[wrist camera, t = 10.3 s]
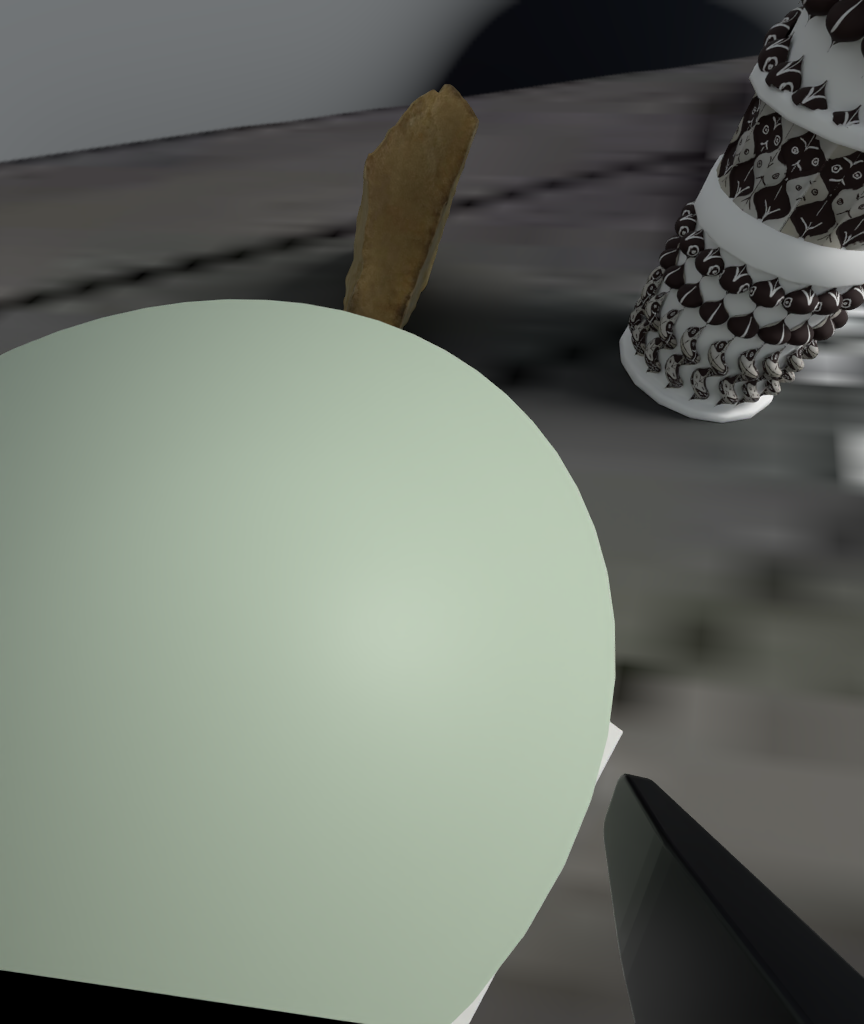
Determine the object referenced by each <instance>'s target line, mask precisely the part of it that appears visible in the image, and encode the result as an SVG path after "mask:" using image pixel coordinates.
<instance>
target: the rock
mask: <svg viewBox="0 0 864 1024" xmlns="http://www.w3.org/2000/svg"><path fill="white" fill-rule="evenodd" d="M478 123H479V120H478V119H477V117H476V115H475V113H474V112H473V110H472V108H471V107H470V106H469V104H468V103H467V101H466V100H464V99H463V98H462V96H461V95H460V93H459V92H458V91H457V90H456V89H455V88H454V87H453V86H451V85H444V86H443V87H442V88H441V90H440V92H439V93H437V92H436V91H435V90H431V91H429V92H428V93H426V94H424V95H423V96H421V97H419V98H418V99H416V100H415V101H414V102H413V103H412V104H411V105H410V107H409V108H408V110H407V111H406V112H405V113H404V114H403V115H402V116H401V118H400V119H399V121H398V122H397V124H396V125H395V126H394V127H392V128H390V129H389V130H388V132H387V133H386V136H385V138H384V140H383V141H382V142H381V143H380V145H379V146H378V147H377V148H376V149H375V151H374V152H373V153H370V154H368V157H367V159H366V162H365V166H364V176H363V179H364V184H363V195H362V201H361V206H360V208H359V212H358V216H357V230H356V236H355V242H354V260H353V262H352V265H351V267H350V269H349V272H348V274H347V276H346V281H345V283H346V295H345V298H344V301H343V304H344V310H343V311H346V312H350V313H353V314H357V315H360V316H364V317H367V318H371V319H374V320H378V321H381V322H383V323H386V324H389V325H391V326H394V327H396V328H399V329H403V327H404V326H405V325H406V324H407V322H408V320H409V318H410V315H411V313H412V312H413V310H414V309H415V307H416V303H417V301H418V299H419V296H420V293H421V292H422V291H423V290H424V288H425V287H426V285H427V283H428V279H429V276H430V272H431V269H432V266H433V263H434V260H435V256H436V253H437V250H438V244H439V242H440V239H441V237H442V234H443V229H444V226H445V223H446V220H447V218H448V216H449V211H450V206H451V203H452V199H453V196H454V194H455V191H456V186H457V184H458V181H459V178H460V175H461V173H462V171H463V169H464V165H465V161H466V158H467V156H468V153H469V150H470V147H471V144H472V141H473V139H474V137H475V134H476V131H477V128H478Z"/></svg>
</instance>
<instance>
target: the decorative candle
mask: <svg viewBox="0 0 864 1024" xmlns="http://www.w3.org/2000/svg"><path fill="white" fill-rule="evenodd" d="M801 1H802V4H803V6H802V7H799V8H796V9H794V10H792V11H791V12H789V13H788V14H787V15H786V16H785V18H784V19H783V21H781V22H779V23H777V24H775V25H774V26H772V27H771V28H770V29H769V31H768V32H767V34H766V36H765V39H764V43H763V44H764V47H763V49H762V50H761V52H760V54H759V57H758V63H757V64H756V66H755V67H754V69H753V71H752V73H751V75H750V77H749V79H750V81H751V83H752V85H753V87H754V89H755V91H756V93H755V95H754V97H753V99H752V101H751V103H750V105H749V107H748V109H747V111H746V112H745V114H744V116H743V118H742V120H741V122H740V124H739V126H738V128H737V130H736V132H735V134H734V136H733V138H732V140H731V142H730V144H729V146H728V148H727V150H726V152H725V153H724V154H723V155H720V156H719V158H718V160H717V161H716V163H715V165H714V166H713V168H712V170H711V172H710V174H709V176H708V178H707V180H706V182H705V184H704V186H703V188H702V190H701V192H700V194H699V195H698V197H697V199H696V201H691V202H689V203H687V204H686V205H685V206H684V208H683V210H682V212H681V217H680V218H679V219H678V220H677V222H676V224H675V230H676V233H677V234H678V235H675V236H673V237H671V238H670V239H669V240H668V241H667V243H666V250H665V251H663V252H662V253H661V255H660V257H659V262H660V265H661V266H659V267H657V268H656V269H655V270H654V271H653V272H652V273H651V274H650V276H649V277H648V280H647V283H646V285H645V286H644V288H643V289H642V293H641V298H640V299H639V300H638V301H637V303H636V305H635V308H634V311H633V312H632V313H631V315H630V317H629V325H628V326H627V328H626V330H625V332H624V333H623V335H622V337H621V339H620V341H619V347H620V358H621V363H622V365H623V366H624V368H625V370H626V371H627V373H628V374H629V376H630V378H631V379H632V381H633V382H634V384H635V385H636V386H637V387H639V388H640V389H641V390H642V391H644V392H645V393H646V394H647V395H648V396H650V397H651V398H652V399H653V400H655V401H656V402H657V403H658V404H660V405H662V406H664V407H667V408H669V409H671V410H673V411H676V412H678V413H680V414H682V415H685V416H687V417H689V418H693V419H700V420H706V421H712V422H719V423H726V422H732V421H738V420H744V419H750V418H751V417H753V416H754V415H755V414H757V413H758V412H759V411H761V410H762V409H763V408H765V407H766V406H767V405H769V403H770V402H771V401H772V399H773V395H778V394H779V393H780V391H781V388H780V385H779V382H786V383H790V382H792V381H793V380H794V379H795V374H794V372H798V371H800V370H802V369H803V367H804V362H803V359H813V358H815V357H816V356H817V355H818V353H819V350H818V346H817V341H818V340H819V341H820V340H826V339H828V338H829V337H831V336H832V335H833V333H834V332H835V329H837V328H841V327H843V326H844V325H845V324H846V322H847V320H848V314H847V311H846V310H852V309H855V308H857V307H859V306H860V305H861V304H862V303H863V302H864V0H801ZM807 343H808V344H807ZM806 344H807V345H806ZM805 345H806V346H805Z"/></svg>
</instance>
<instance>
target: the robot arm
mask: <svg viewBox="0 0 864 1024" xmlns="http://www.w3.org/2000/svg"><path fill="white" fill-rule="evenodd" d="M603 833H604V844H605V851H606V858H607V866H608V873H609V881H610V888H611V895H612V903H613V910H614V918H615V925H616V932H617V939H618V946H619V952H620V958H621V963H622V968H623V973H624V978H625V982H626V987H627V991H628V995H629V1000H630V1004H631V1009H632V1013H633V1017H634V1022H635V1024H864V977H863V976H861V975H860V974H859V973H858V972H857V971H856V970H855V969H854V968H853V967H852V966H851V965H850V964H849V963H847V962H846V961H845V960H844V959H843V958H842V957H841V956H840V955H839V954H838V953H837V952H836V951H835V950H834V949H832V948H831V947H830V946H829V945H828V944H827V943H826V942H825V941H824V940H823V939H822V938H821V937H820V936H819V935H817V934H816V933H815V932H814V931H813V930H812V929H811V928H810V927H809V926H808V925H807V924H806V923H805V922H804V921H802V920H801V919H800V918H799V917H798V916H797V915H796V914H795V913H794V912H793V911H792V910H791V909H790V908H789V907H787V906H786V905H785V904H784V903H783V902H782V901H781V900H780V899H779V898H778V897H777V896H776V895H775V894H773V893H772V892H771V891H770V890H769V889H768V888H767V887H766V886H765V885H764V884H763V883H762V882H761V881H760V880H758V879H757V878H756V877H755V876H754V875H753V874H752V873H751V872H750V871H749V870H748V869H747V868H746V867H745V866H743V865H742V864H741V863H740V862H739V861H738V860H737V859H736V858H735V857H734V856H733V855H732V854H731V853H730V852H728V851H727V850H726V849H725V848H724V847H723V846H722V845H721V844H720V843H719V842H718V841H717V840H716V839H715V838H713V837H712V836H711V835H710V834H709V833H708V832H707V831H706V830H705V829H704V828H703V827H702V826H701V825H699V824H698V823H697V822H696V821H695V820H694V819H693V818H692V817H691V816H690V815H689V814H688V813H687V812H686V811H684V810H683V809H682V808H681V807H680V806H679V805H678V804H677V803H676V802H675V801H674V800H673V799H672V798H671V797H669V796H668V795H667V794H666V793H665V792H664V791H663V790H662V789H661V788H660V787H659V786H658V785H657V784H656V783H654V782H653V781H652V780H650V779H648V778H643V777H639V776H634V775H630V774H624V775H622V776H620V778H619V779H618V781H617V783H616V786H615V789H614V792H613V795H612V798H611V801H610V804H609V807H608V810H607V814H606V817H605V820H604V829H603Z"/></svg>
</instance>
